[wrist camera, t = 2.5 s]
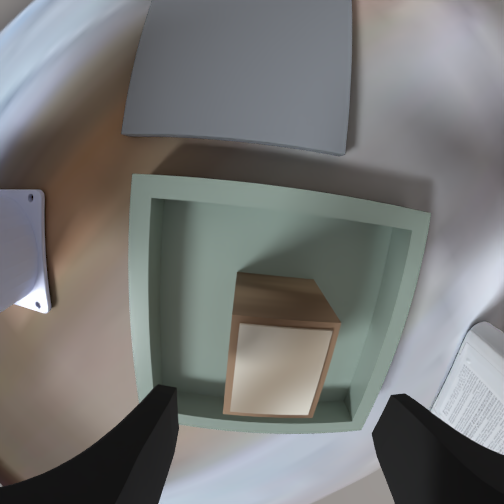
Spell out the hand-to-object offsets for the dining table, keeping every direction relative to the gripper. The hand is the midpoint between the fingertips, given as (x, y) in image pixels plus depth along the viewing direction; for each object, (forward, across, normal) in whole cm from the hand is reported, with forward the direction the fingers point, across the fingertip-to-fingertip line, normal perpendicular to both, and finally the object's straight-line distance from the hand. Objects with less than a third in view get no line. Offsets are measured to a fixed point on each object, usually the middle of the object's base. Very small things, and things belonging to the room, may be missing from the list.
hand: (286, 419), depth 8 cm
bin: (+8, 0, 0) cm, 8 cm away
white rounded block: (+8, -17, +5) cm, 19 cm away
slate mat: (+8, +3, -14) cm, 17 cm away
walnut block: (+8, 0, 0) cm, 8 cm away
